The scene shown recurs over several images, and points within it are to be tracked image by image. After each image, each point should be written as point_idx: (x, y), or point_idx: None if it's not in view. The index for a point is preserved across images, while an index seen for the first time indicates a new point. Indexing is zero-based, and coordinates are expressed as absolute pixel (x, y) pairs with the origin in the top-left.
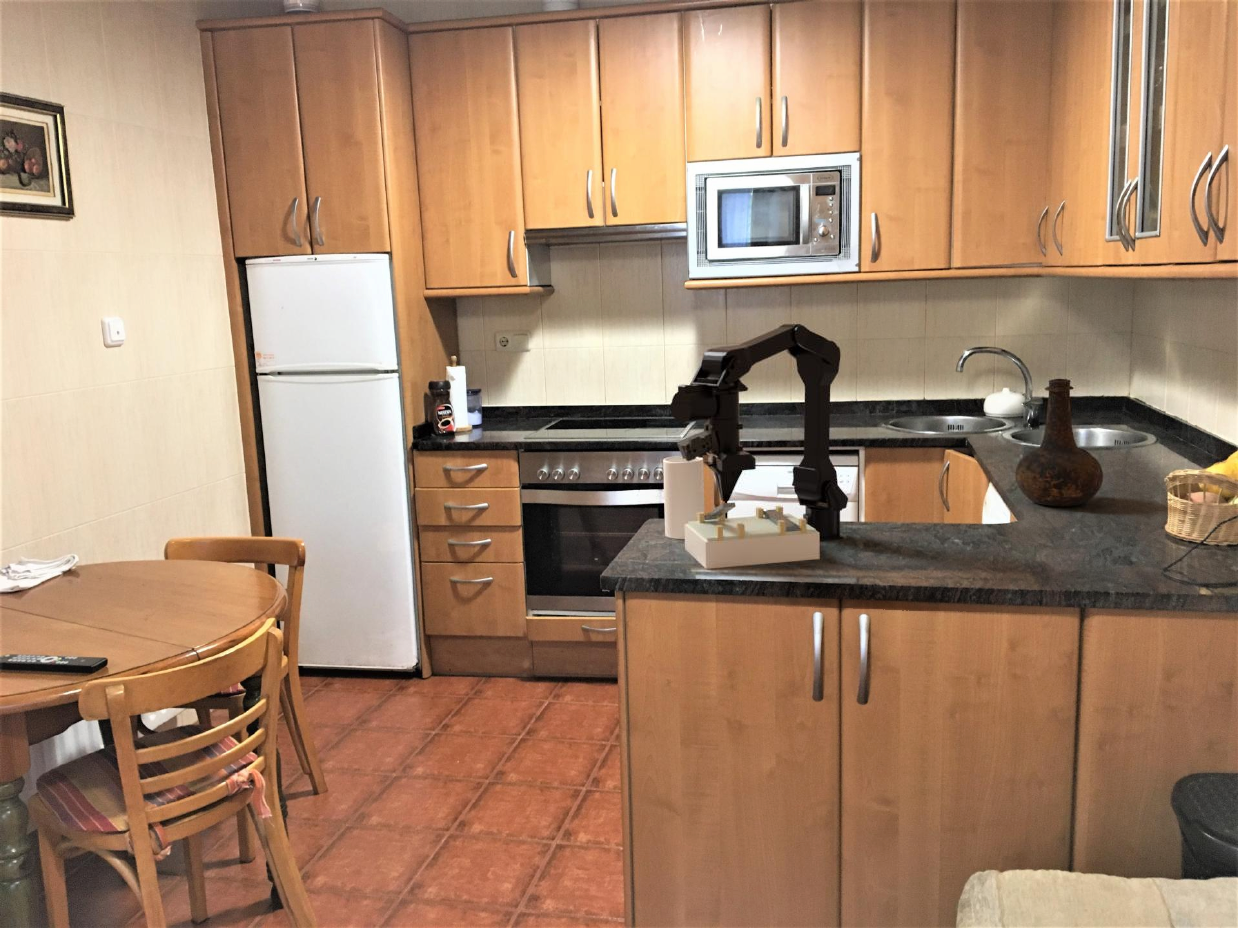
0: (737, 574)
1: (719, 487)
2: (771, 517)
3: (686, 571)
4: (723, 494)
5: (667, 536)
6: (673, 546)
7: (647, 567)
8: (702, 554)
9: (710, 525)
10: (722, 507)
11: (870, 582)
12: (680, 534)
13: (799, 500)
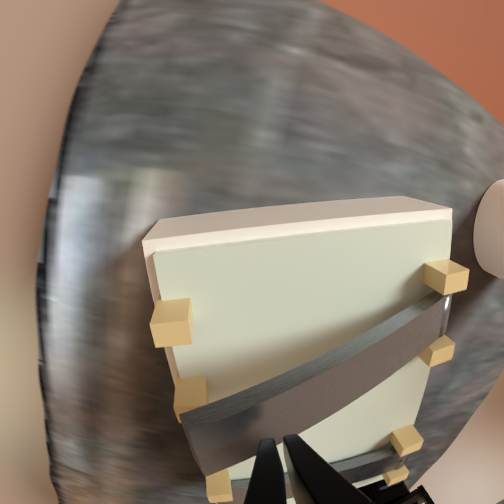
0: (94, 299)
1: (311, 495)
2: (342, 467)
3: (143, 152)
4: (252, 477)
5: (498, 180)
6: (432, 170)
7: (221, 39)
8: (197, 221)
9: (375, 298)
10: (189, 413)
11: (66, 476)
12: (486, 209)
13: (422, 492)
